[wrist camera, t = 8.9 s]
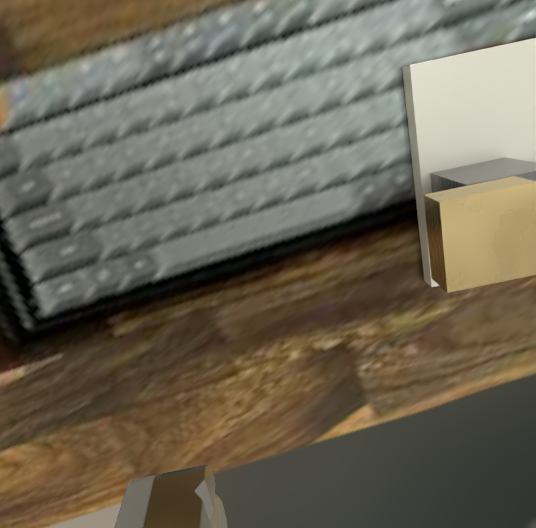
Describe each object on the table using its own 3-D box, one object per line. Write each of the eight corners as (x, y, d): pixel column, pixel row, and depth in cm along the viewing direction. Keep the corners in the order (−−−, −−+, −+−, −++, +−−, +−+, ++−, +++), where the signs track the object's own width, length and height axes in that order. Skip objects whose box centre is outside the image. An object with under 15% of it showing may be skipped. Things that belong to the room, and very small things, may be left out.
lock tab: (431, 278, 22) (447, 292, 20) (423, 194, 20) (439, 202, 19) (516, 261, 22) (539, 273, 20) (513, 175, 20) (538, 181, 19)
